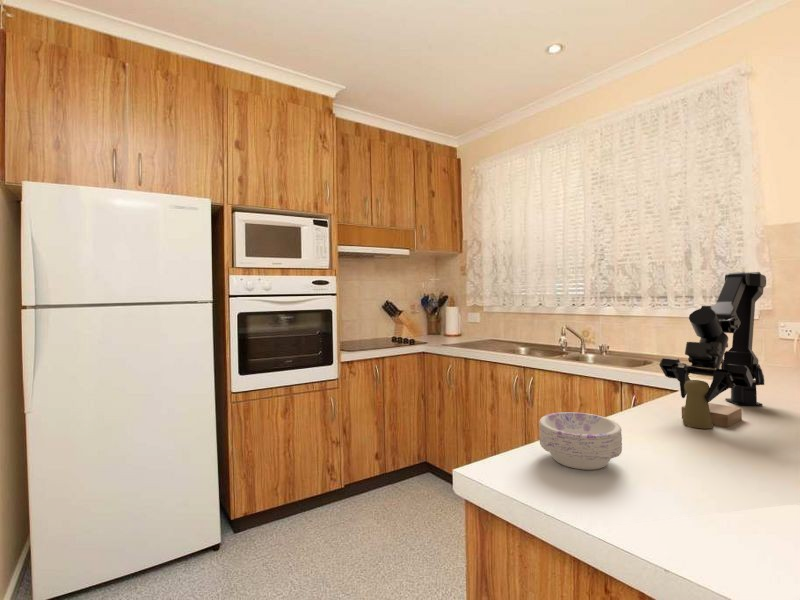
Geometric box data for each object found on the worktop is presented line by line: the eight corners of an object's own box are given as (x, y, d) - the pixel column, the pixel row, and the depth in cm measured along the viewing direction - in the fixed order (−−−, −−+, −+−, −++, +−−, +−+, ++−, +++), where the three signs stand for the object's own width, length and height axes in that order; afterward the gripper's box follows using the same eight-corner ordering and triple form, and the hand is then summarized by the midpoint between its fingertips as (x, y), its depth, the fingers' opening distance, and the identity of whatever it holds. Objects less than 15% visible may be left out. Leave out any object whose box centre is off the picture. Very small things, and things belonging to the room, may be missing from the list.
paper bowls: (565, 480, 75) (564, 436, 75) (527, 450, 90) (526, 414, 90) (641, 473, 78) (640, 430, 78) (591, 445, 93) (590, 409, 93)
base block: (681, 418, 110) (681, 406, 110) (697, 411, 116) (696, 400, 116) (727, 427, 102) (727, 415, 102) (741, 419, 108) (741, 408, 108)
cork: (702, 420, 107) (701, 377, 106) (718, 428, 101) (717, 382, 100) (677, 420, 107) (676, 378, 107) (691, 428, 101) (690, 383, 101)
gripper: (661, 328, 114) (643, 374, 107) (747, 331, 98) (732, 385, 92) (674, 353, 118) (658, 399, 112) (759, 361, 103) (745, 414, 97)
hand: (694, 399), depth 103 cm, fingers closed on cork, 5 cm apart
